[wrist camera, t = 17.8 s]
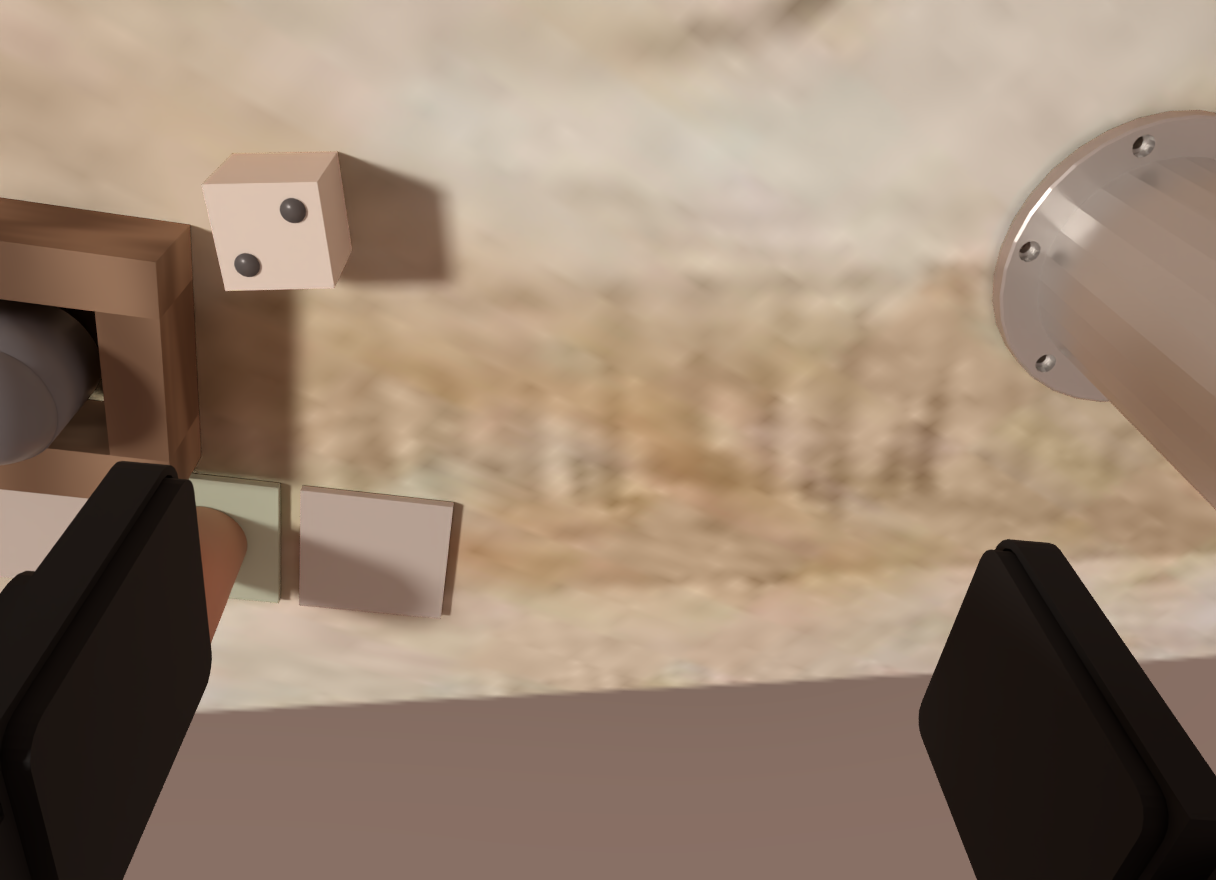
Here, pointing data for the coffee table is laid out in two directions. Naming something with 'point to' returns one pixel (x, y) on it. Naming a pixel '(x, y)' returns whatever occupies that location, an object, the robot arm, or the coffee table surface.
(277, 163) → the die
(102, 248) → the frame
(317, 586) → the tile strip
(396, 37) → the coffee table surface
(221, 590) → the brown rounded cylinder piece
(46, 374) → the dome
